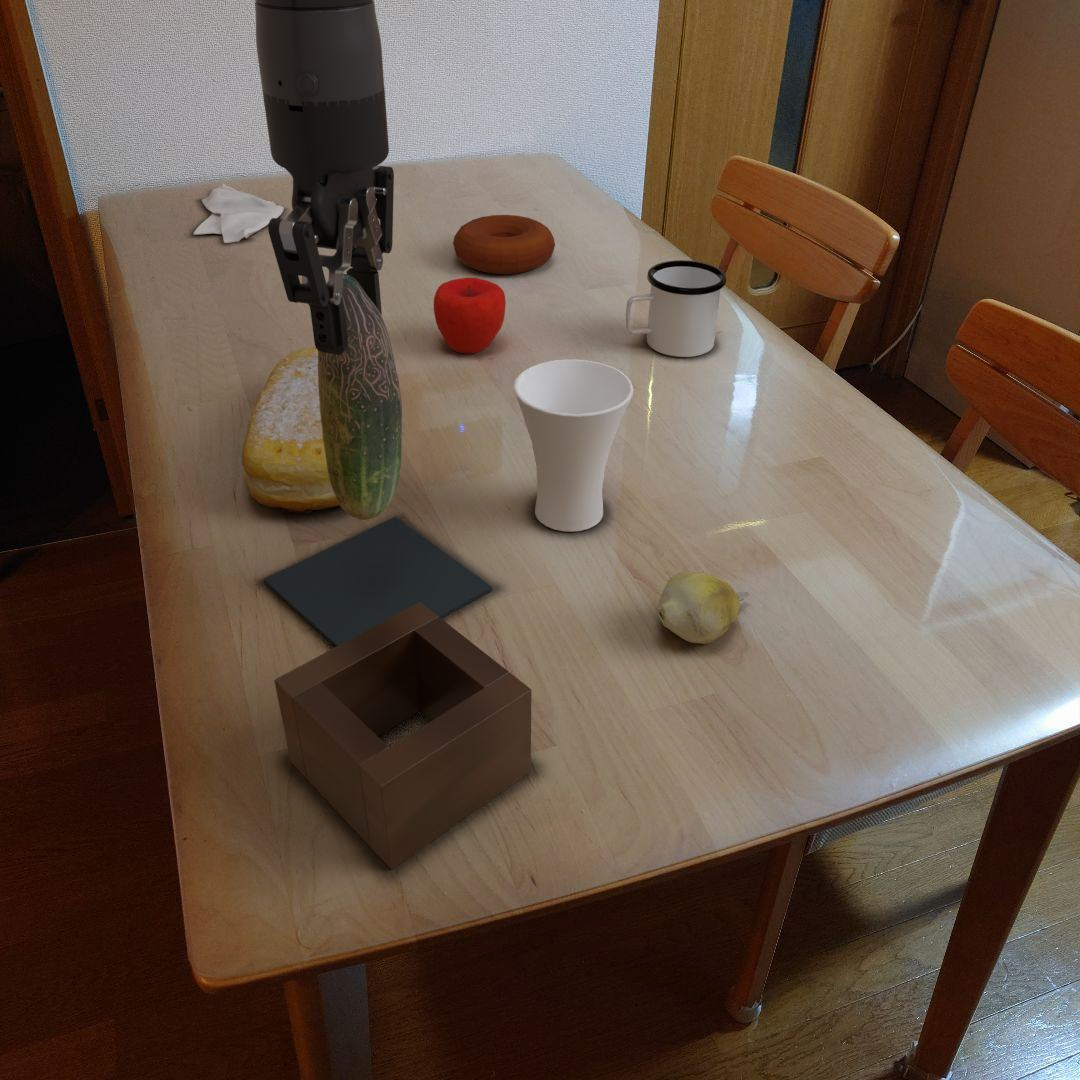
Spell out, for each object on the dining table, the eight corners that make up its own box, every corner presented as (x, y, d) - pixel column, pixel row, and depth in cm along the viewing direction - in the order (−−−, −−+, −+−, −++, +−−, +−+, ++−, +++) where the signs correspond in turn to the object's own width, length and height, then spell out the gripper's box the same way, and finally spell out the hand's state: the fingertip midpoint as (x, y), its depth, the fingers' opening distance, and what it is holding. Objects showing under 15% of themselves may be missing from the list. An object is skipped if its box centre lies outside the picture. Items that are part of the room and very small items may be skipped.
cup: (596, 557, 90) (604, 426, 82) (494, 526, 94) (491, 397, 86) (640, 499, 98) (651, 374, 90) (544, 472, 102) (546, 349, 94)
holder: (391, 870, 64) (380, 786, 59) (290, 761, 71) (273, 679, 66) (531, 771, 70) (531, 689, 66) (426, 681, 78) (419, 601, 73)
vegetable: (318, 502, 83) (287, 264, 71) (387, 482, 85) (369, 250, 74) (348, 539, 78) (320, 293, 67) (420, 516, 81) (406, 276, 70)
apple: (518, 354, 123) (519, 293, 119) (452, 368, 120) (450, 306, 115) (488, 326, 130) (487, 267, 125) (424, 339, 126) (420, 279, 122)
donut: (517, 235, 156) (517, 203, 153) (574, 265, 147) (576, 231, 144) (434, 255, 149) (433, 221, 146) (489, 288, 140) (489, 252, 137)
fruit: (774, 622, 84) (696, 664, 77) (716, 606, 88) (638, 644, 82) (773, 557, 82) (694, 593, 76) (714, 543, 86) (635, 577, 80)
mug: (702, 324, 131) (710, 257, 125) (729, 356, 123) (738, 286, 118) (613, 332, 128) (617, 264, 123) (635, 365, 121) (640, 294, 116)
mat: (356, 665, 79) (355, 662, 79) (263, 582, 87) (263, 578, 87) (492, 590, 87) (492, 586, 86) (395, 520, 95) (395, 516, 95)
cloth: (281, 240, 154) (278, 226, 152) (187, 245, 152) (184, 230, 150) (286, 187, 174) (284, 174, 173) (204, 191, 172) (201, 177, 171)
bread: (231, 526, 94) (216, 453, 89) (274, 391, 115) (263, 326, 110) (377, 522, 94) (369, 449, 90) (392, 389, 116) (387, 324, 111)
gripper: (322, 55, 69) (346, 291, 79) (206, 102, 58) (252, 370, 68) (423, 64, 67) (435, 304, 77) (324, 114, 56) (353, 386, 66)
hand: (349, 333), depth 73 cm, fingers closed on vegetable, 5 cm apart
